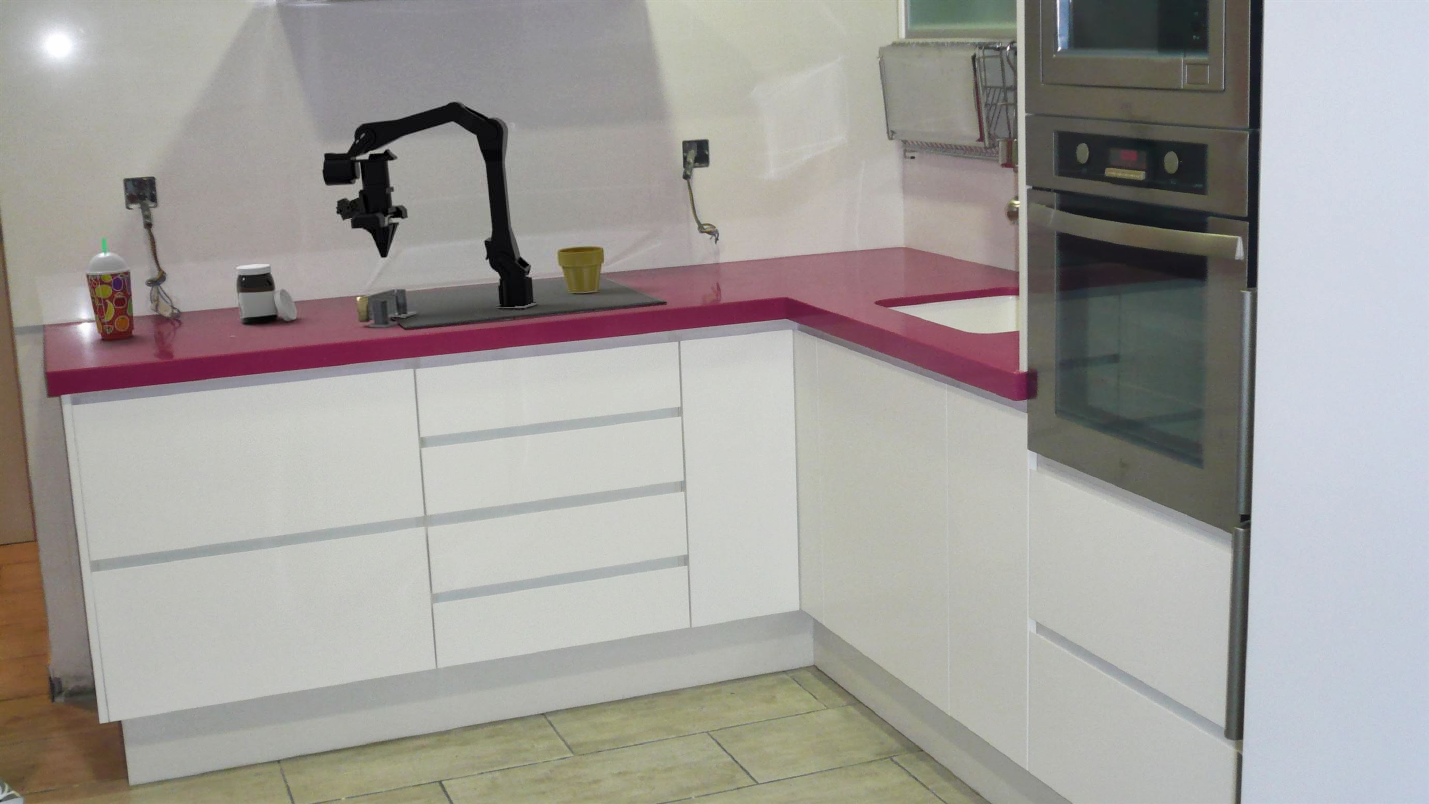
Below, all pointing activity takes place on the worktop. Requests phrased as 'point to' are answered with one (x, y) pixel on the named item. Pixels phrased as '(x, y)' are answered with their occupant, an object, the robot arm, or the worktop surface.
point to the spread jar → (261, 296)
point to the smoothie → (111, 294)
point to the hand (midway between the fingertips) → (384, 257)
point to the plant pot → (581, 267)
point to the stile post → (381, 315)
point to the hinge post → (401, 302)
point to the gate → (367, 307)
